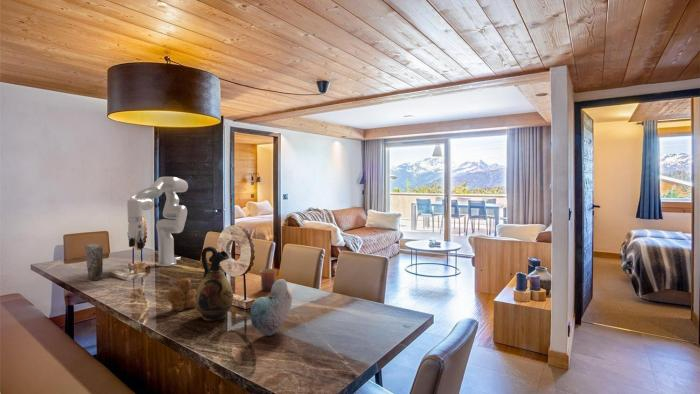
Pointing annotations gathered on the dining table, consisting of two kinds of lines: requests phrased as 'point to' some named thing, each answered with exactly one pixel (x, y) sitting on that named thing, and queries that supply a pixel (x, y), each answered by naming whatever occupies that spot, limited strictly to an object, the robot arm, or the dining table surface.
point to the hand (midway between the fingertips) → (136, 247)
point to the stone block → (94, 261)
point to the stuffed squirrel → (182, 295)
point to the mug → (267, 279)
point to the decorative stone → (271, 309)
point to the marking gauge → (138, 267)
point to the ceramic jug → (214, 288)
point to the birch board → (126, 274)
